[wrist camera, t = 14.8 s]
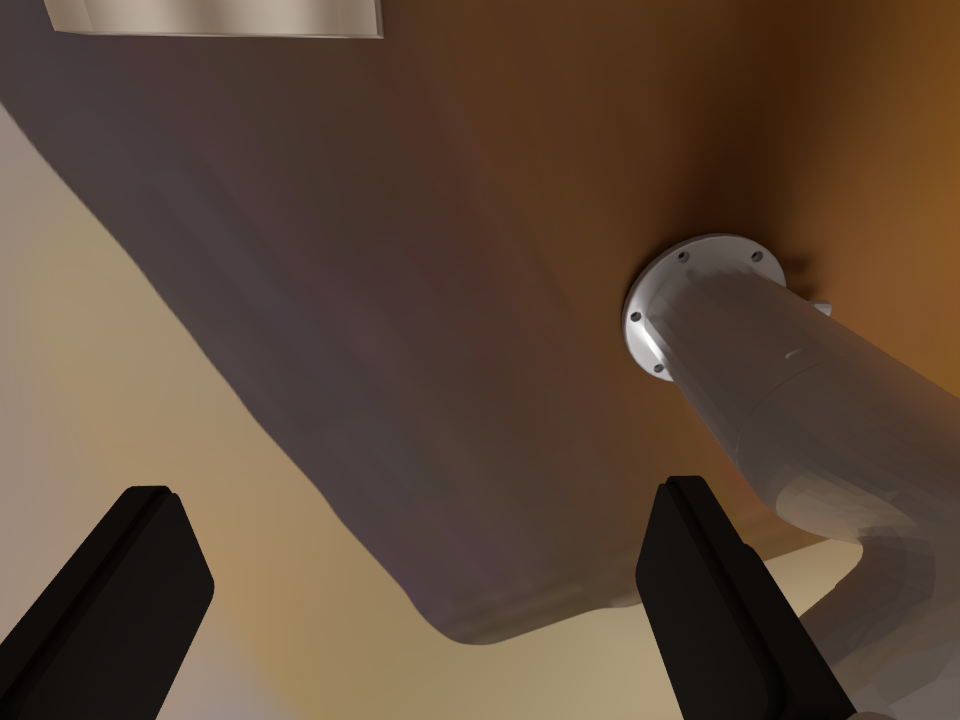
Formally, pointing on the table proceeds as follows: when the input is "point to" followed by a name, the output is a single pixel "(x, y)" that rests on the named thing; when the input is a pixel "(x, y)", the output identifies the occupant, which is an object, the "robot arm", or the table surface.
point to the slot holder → (220, 18)
